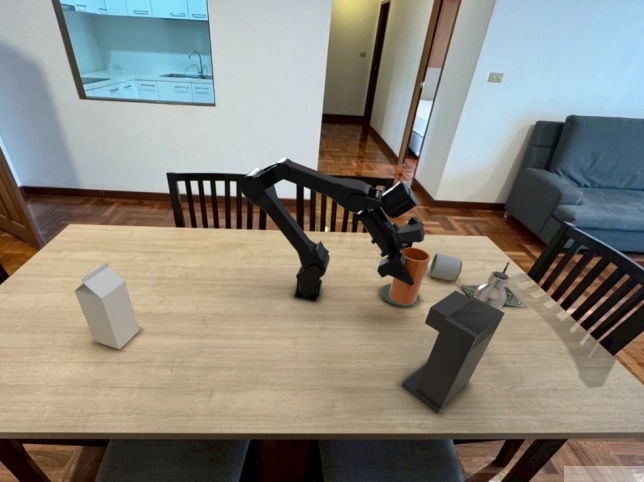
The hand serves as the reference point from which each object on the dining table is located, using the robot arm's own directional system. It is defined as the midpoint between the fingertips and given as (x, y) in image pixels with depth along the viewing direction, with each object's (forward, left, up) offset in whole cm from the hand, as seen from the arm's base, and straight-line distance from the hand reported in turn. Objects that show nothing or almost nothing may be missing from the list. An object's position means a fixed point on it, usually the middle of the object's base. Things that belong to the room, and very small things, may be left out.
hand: (414, 277), depth 89 cm
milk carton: (-66, -32, -13) cm, 75 cm away
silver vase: (+26, +18, -13) cm, 34 cm away
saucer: (-1, +9, -12) cm, 15 cm away
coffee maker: (+8, -23, -12) cm, 27 cm away
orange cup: (-1, 0, -7) cm, 7 cm away
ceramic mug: (+11, +26, -13) cm, 31 cm away
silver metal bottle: (+17, -5, -13) cm, 22 cm away
